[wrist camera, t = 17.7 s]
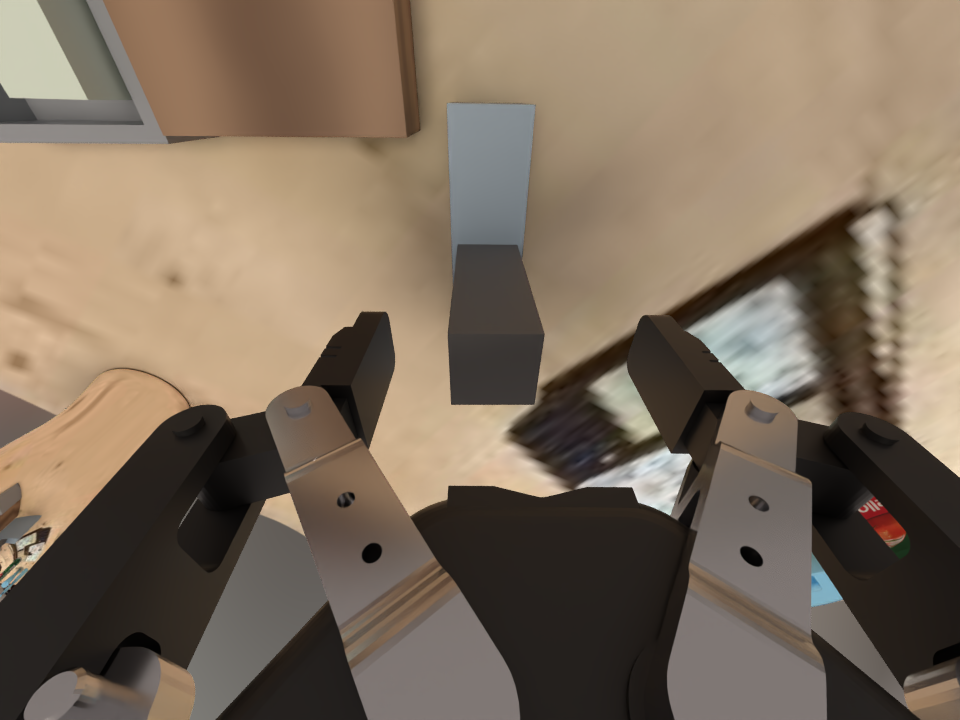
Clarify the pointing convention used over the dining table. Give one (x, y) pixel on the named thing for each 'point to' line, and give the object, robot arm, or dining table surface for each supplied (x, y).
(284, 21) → the brown wooden block
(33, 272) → the dining table surface
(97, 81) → the tile
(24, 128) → the box
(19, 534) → the beer glass
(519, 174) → the scraper
